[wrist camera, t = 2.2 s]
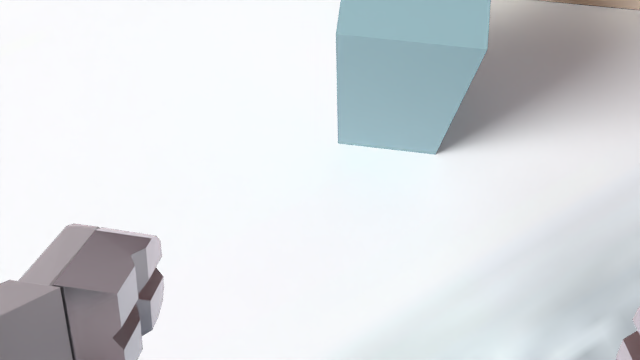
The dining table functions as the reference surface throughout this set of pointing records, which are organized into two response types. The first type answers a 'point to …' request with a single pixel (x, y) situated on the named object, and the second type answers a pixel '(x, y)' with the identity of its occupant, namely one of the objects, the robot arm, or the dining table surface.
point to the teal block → (406, 69)
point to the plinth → (605, 3)
